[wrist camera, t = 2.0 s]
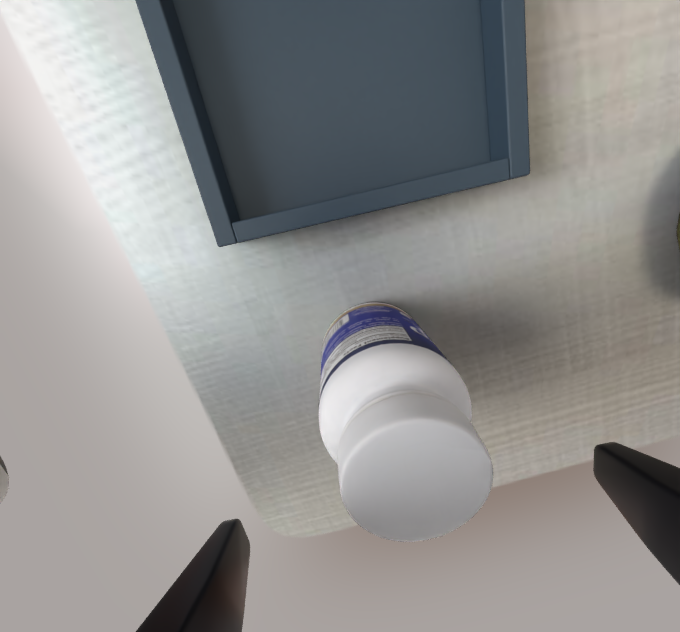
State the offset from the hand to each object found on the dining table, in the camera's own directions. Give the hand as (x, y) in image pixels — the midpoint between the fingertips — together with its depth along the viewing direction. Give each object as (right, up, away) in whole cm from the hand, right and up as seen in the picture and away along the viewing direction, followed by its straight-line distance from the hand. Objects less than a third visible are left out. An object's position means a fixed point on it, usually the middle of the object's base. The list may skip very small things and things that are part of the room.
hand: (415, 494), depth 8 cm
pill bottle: (0, +3, +9) cm, 9 cm away
